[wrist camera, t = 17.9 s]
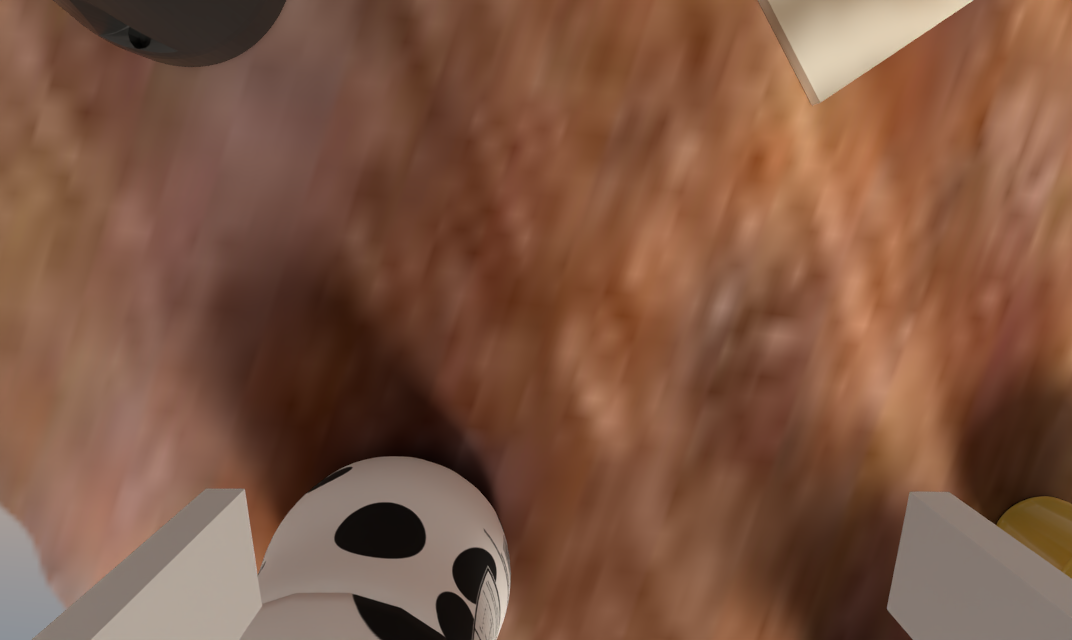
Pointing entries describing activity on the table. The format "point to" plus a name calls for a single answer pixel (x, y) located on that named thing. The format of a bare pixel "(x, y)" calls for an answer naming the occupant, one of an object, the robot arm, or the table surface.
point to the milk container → (386, 559)
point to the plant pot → (1043, 529)
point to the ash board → (848, 35)
